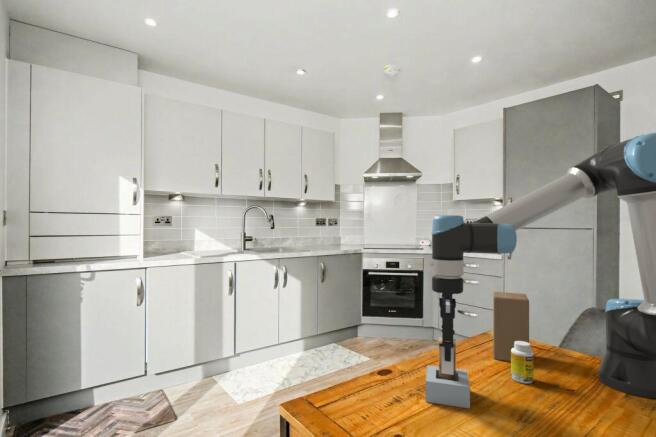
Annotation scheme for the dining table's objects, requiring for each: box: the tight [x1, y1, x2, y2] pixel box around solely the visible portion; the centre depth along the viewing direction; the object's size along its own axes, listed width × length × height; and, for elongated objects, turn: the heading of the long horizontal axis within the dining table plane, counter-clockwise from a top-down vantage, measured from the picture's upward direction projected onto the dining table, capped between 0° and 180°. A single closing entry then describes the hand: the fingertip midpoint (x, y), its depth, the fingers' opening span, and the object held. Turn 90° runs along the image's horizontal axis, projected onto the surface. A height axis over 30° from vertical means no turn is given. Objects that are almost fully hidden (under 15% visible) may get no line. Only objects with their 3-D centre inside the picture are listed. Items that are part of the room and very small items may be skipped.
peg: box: [438, 336, 457, 381], centre depth 89 cm, size 4×4×14 cm
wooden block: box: [492, 291, 530, 363], centre depth 116 cm, size 10×10×20 cm
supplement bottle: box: [510, 341, 535, 385], centre depth 99 cm, size 6×6×10 cm
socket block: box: [425, 364, 471, 409], centre depth 89 cm, size 10×10×5 cm
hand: (447, 366), depth 89 cm, fingers open, 8 cm apart
